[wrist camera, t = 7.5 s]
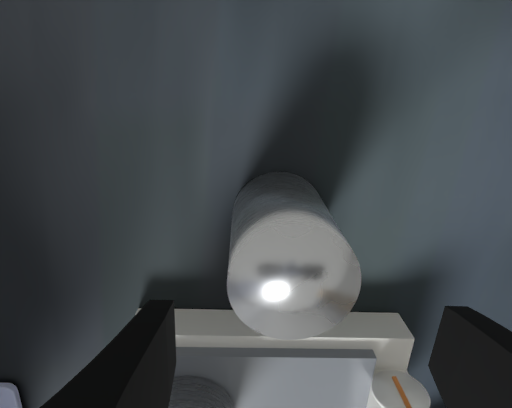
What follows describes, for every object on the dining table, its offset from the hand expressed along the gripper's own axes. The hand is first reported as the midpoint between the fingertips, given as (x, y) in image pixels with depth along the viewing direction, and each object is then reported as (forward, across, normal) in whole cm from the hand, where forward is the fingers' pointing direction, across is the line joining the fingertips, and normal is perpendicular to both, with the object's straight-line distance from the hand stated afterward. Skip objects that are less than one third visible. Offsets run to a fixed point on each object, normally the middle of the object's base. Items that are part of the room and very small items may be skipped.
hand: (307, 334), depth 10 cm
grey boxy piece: (+8, 0, +10) cm, 13 cm away
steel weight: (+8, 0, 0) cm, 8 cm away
